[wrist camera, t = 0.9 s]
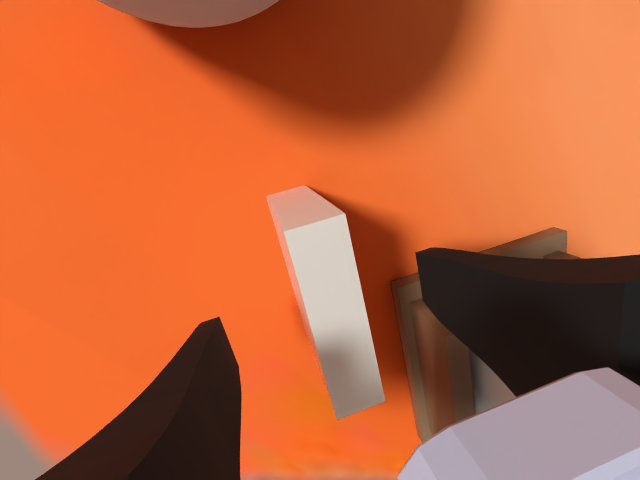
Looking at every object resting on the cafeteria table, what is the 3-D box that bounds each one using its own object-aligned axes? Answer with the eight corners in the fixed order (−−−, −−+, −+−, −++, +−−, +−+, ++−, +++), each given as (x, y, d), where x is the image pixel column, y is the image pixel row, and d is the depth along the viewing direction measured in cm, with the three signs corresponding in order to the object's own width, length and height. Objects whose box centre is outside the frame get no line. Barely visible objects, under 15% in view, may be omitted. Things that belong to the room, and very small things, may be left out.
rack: (553, 227, 19) (631, 249, 15) (552, 379, 23) (615, 427, 19) (390, 281, 17) (432, 321, 14) (418, 435, 21) (456, 498, 17)
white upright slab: (305, 185, 15) (345, 213, 9) (337, 316, 17) (385, 401, 12) (266, 195, 15) (283, 231, 9) (304, 327, 17) (336, 419, 12)
